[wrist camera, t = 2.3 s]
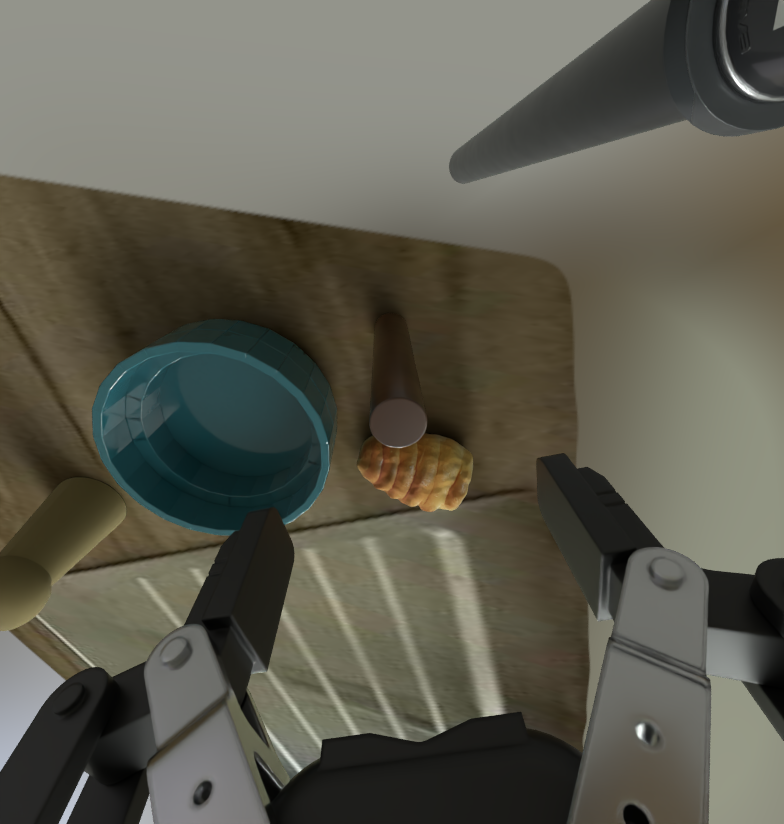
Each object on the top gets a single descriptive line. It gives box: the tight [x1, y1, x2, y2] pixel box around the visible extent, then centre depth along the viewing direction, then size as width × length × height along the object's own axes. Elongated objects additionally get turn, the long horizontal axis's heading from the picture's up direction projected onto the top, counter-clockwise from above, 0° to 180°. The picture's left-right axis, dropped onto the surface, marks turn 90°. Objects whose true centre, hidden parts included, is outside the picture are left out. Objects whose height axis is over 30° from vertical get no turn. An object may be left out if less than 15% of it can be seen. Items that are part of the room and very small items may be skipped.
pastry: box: [357, 433, 473, 512], centre depth 32 cm, size 9×7×4 cm
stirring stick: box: [369, 313, 428, 448], centre depth 22 cm, size 2×2×14 cm
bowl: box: [92, 319, 337, 535], centre depth 28 cm, size 15×15×6 cm
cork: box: [0, 477, 127, 631], centre depth 30 cm, size 6×6×11 cm
